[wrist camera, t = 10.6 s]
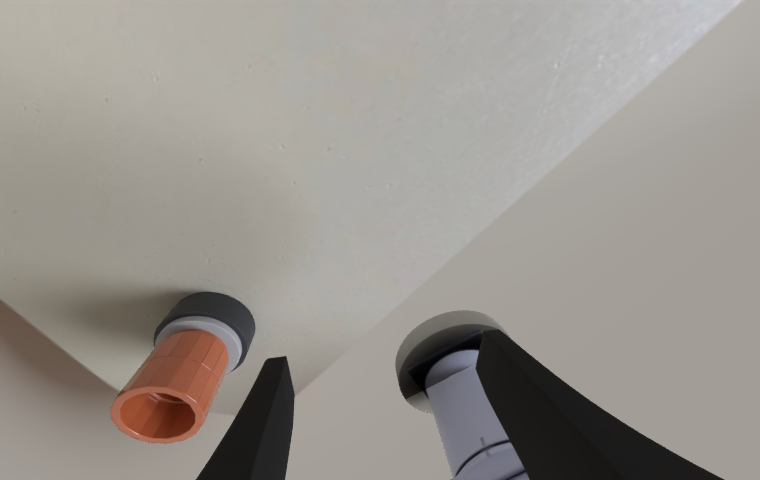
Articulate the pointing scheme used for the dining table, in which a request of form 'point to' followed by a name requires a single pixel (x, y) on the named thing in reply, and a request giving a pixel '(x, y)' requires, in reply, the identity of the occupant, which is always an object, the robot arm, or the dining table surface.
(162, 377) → the cup
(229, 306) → the push button
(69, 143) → the dining table surface
